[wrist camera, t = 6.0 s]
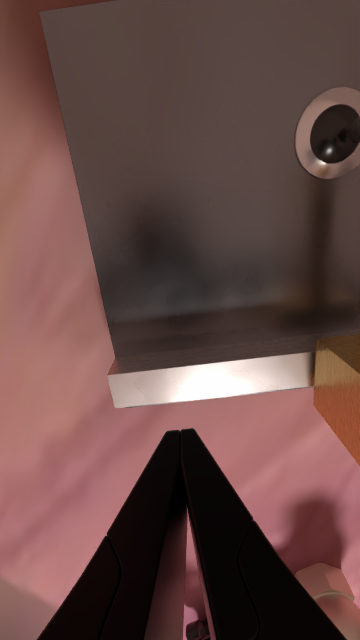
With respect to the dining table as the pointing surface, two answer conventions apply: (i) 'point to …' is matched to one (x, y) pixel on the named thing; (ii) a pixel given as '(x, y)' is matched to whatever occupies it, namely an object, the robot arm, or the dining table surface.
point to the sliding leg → (340, 375)
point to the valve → (325, 590)
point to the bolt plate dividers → (215, 185)
